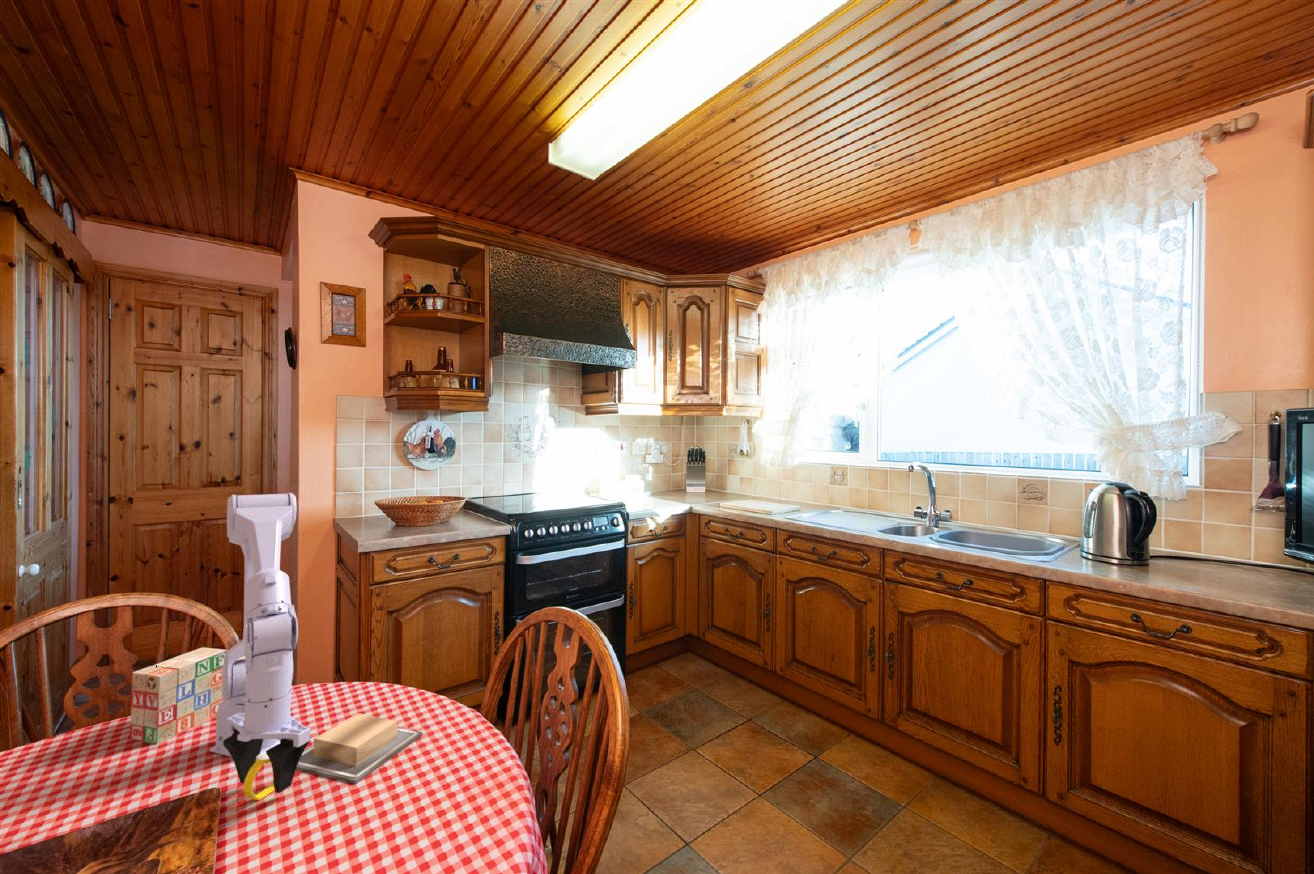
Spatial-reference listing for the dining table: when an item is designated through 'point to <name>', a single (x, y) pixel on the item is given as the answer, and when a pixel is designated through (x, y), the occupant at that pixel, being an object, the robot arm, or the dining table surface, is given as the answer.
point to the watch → (250, 777)
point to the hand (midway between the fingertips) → (265, 783)
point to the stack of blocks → (176, 695)
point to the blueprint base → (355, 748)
